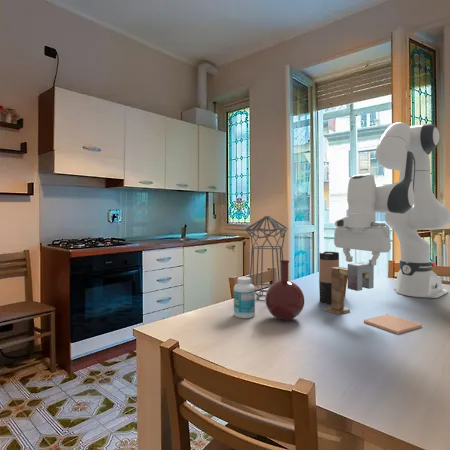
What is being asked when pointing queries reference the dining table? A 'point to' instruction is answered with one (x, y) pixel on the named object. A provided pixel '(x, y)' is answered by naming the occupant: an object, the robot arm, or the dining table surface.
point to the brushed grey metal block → (360, 276)
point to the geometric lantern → (275, 225)
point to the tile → (392, 323)
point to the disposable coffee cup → (345, 281)
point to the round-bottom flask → (284, 296)
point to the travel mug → (327, 275)
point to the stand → (339, 290)
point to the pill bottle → (244, 298)
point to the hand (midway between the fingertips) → (360, 263)
